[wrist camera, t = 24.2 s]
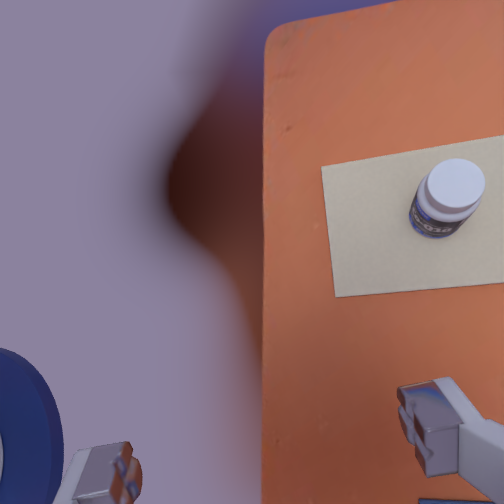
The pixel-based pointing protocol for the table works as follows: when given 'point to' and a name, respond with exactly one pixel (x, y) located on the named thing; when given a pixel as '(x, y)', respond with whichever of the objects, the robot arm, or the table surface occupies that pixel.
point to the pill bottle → (446, 198)
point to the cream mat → (400, 229)
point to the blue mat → (450, 502)
